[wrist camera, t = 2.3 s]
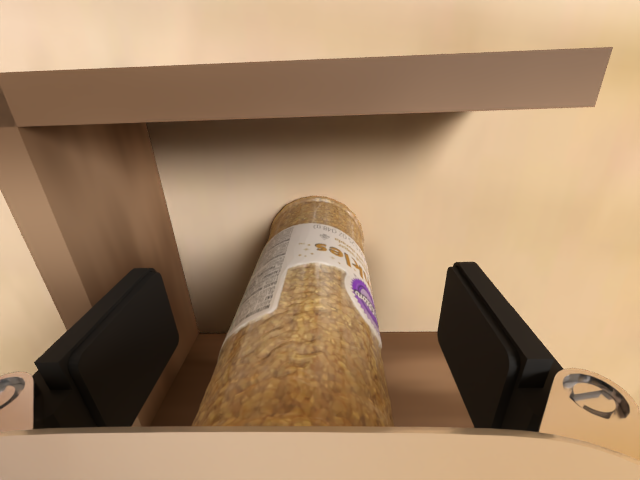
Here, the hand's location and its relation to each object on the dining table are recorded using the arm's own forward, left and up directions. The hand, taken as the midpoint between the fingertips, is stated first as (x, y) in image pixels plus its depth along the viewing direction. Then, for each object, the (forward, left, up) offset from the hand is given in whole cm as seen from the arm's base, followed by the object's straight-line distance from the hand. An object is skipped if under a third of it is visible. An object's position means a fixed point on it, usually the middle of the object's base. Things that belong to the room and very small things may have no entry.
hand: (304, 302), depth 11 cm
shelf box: (0, 0, -6) cm, 6 cm away
